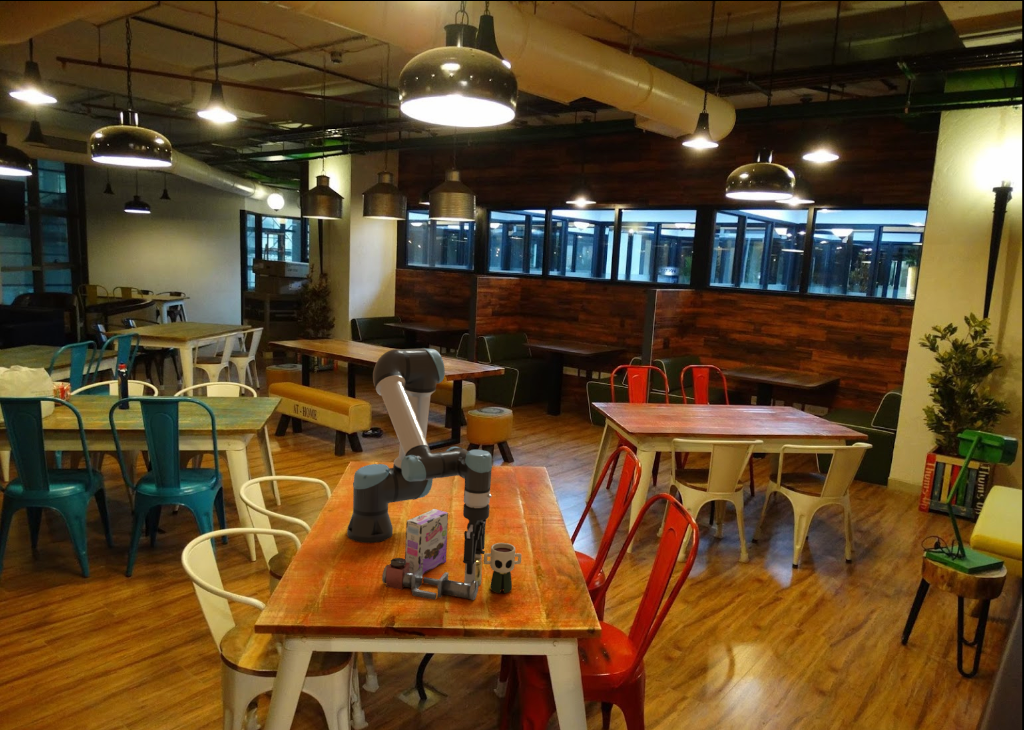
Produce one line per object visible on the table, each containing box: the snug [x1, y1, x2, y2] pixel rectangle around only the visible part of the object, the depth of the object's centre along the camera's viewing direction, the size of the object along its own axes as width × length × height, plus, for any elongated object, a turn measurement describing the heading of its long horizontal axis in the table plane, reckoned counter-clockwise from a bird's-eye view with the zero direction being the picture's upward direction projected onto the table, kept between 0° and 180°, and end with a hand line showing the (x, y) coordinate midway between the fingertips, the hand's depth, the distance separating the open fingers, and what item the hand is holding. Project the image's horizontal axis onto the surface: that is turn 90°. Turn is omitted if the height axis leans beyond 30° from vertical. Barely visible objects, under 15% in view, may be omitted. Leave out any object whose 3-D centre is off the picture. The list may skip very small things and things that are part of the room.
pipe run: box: [381, 557, 479, 601], centre depth 200 cm, size 27×9×7 cm, turn 75°
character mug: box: [483, 542, 522, 594], centre depth 202 cm, size 11×7×13 cm, turn 97°
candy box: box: [404, 508, 449, 575], centre depth 214 cm, size 14×6×16 cm, turn 148°
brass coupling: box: [463, 558, 483, 587], centre depth 206 cm, size 5×5×7 cm
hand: (473, 578), depth 206 cm, fingers closed on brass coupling, 5 cm apart
